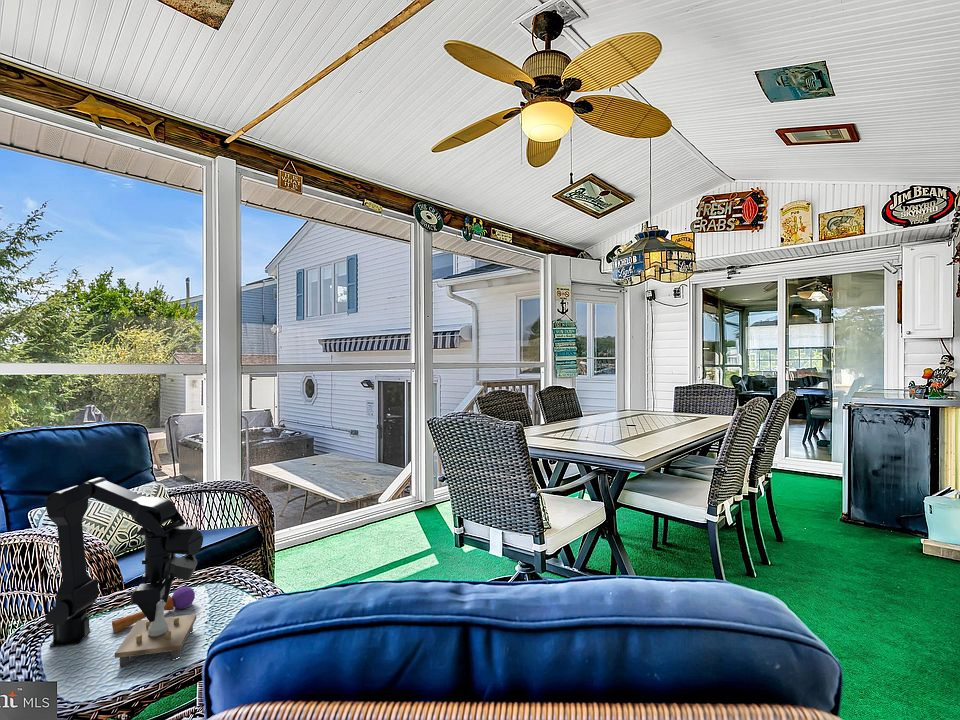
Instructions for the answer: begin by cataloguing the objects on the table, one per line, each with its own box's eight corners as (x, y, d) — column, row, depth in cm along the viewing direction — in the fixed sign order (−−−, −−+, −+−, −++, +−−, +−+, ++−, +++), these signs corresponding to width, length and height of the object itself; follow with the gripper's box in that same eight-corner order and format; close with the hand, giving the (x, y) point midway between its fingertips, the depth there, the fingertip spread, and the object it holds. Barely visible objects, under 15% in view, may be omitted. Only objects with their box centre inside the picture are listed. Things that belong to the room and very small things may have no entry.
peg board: (114, 669, 120) (114, 647, 120) (137, 635, 133) (137, 615, 133) (180, 660, 124) (180, 639, 123) (196, 628, 137) (196, 608, 137)
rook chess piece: (153, 627, 130) (153, 597, 130) (171, 627, 131) (172, 597, 130) (143, 637, 126) (143, 606, 125) (162, 637, 126) (162, 606, 126)
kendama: (109, 614, 136) (188, 581, 152) (112, 635, 136) (191, 601, 152) (115, 618, 132) (196, 584, 148) (119, 640, 132) (199, 604, 148)
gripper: (182, 564, 120) (183, 628, 121) (203, 534, 138) (203, 589, 139) (129, 569, 117) (130, 634, 118) (157, 537, 135) (157, 594, 136)
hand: (158, 611), depth 128 cm, fingers open, 9 cm apart
